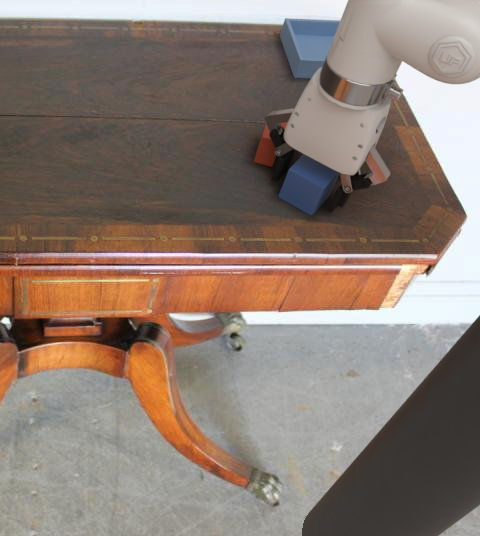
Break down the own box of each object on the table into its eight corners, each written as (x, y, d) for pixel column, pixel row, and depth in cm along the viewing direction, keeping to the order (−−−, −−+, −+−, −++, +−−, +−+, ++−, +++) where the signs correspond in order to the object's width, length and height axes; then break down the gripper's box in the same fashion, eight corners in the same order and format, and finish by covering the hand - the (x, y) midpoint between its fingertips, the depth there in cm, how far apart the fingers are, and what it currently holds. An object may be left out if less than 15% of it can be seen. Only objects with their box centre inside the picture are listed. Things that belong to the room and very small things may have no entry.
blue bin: (345, 38, 118) (353, 20, 115) (364, 80, 111) (372, 62, 108) (279, 36, 117) (285, 18, 115) (293, 78, 110) (300, 59, 108)
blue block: (329, 195, 94) (342, 167, 90) (311, 216, 92) (324, 188, 88) (296, 177, 96) (307, 149, 92) (277, 197, 94) (288, 169, 90)
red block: (291, 150, 100) (301, 125, 96) (286, 171, 97) (296, 146, 93) (259, 141, 100) (268, 116, 97) (253, 162, 98) (262, 136, 94)
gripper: (442, 97, 78) (379, 208, 92) (301, 32, 85) (262, 145, 98) (415, 130, 74) (354, 241, 88) (270, 59, 81) (234, 173, 94)
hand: (306, 190), depth 93 cm, fingers open, 7 cm apart
